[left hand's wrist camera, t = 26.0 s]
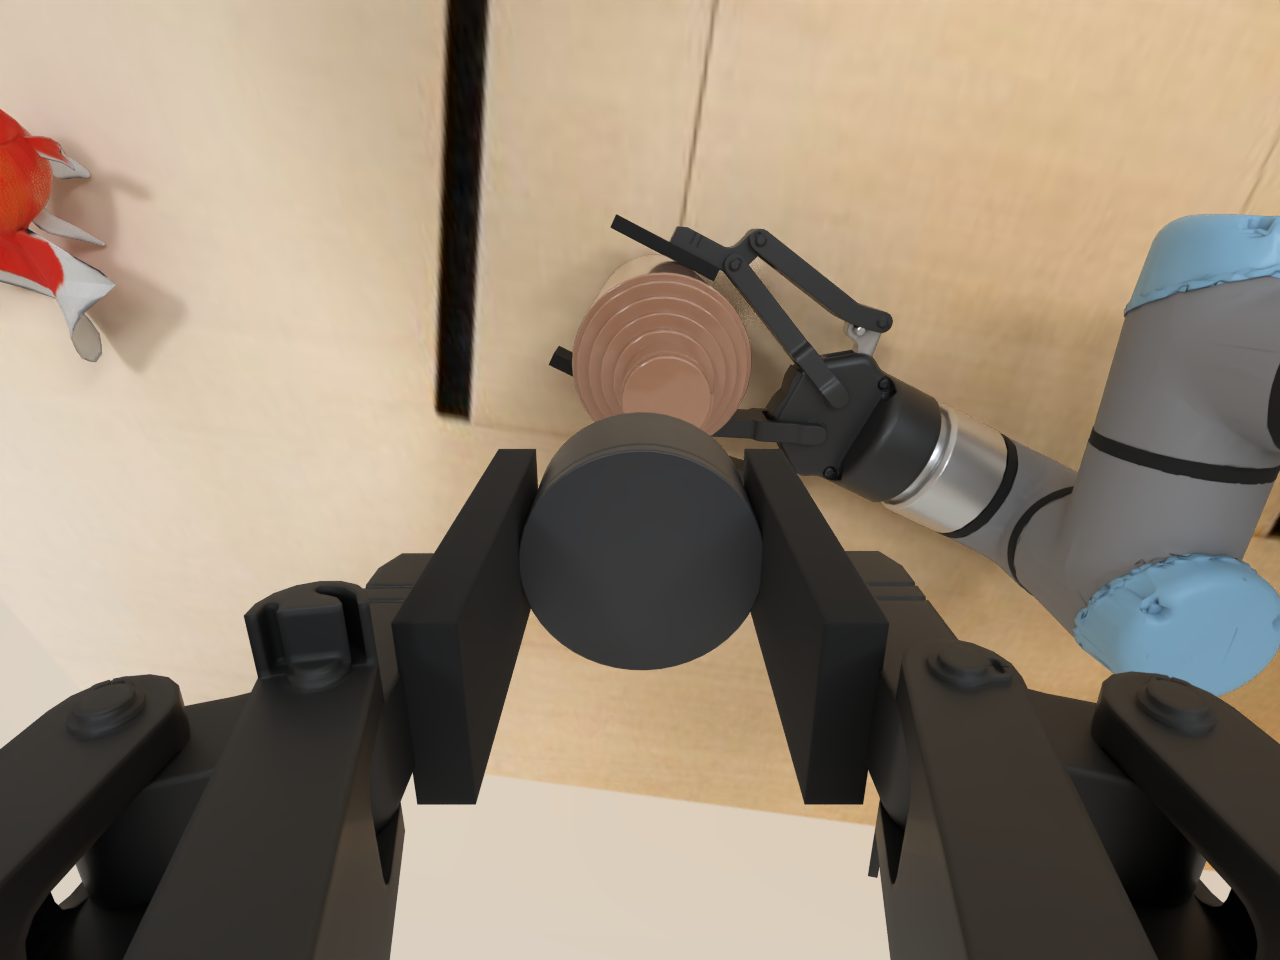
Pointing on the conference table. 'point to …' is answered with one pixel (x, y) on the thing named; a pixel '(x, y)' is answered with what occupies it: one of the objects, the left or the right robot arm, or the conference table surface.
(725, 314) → the bottle
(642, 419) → the cap
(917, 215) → the conference table surface
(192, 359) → the conference table surface
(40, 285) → the fish
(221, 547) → the conference table surface
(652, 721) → the conference table surface
